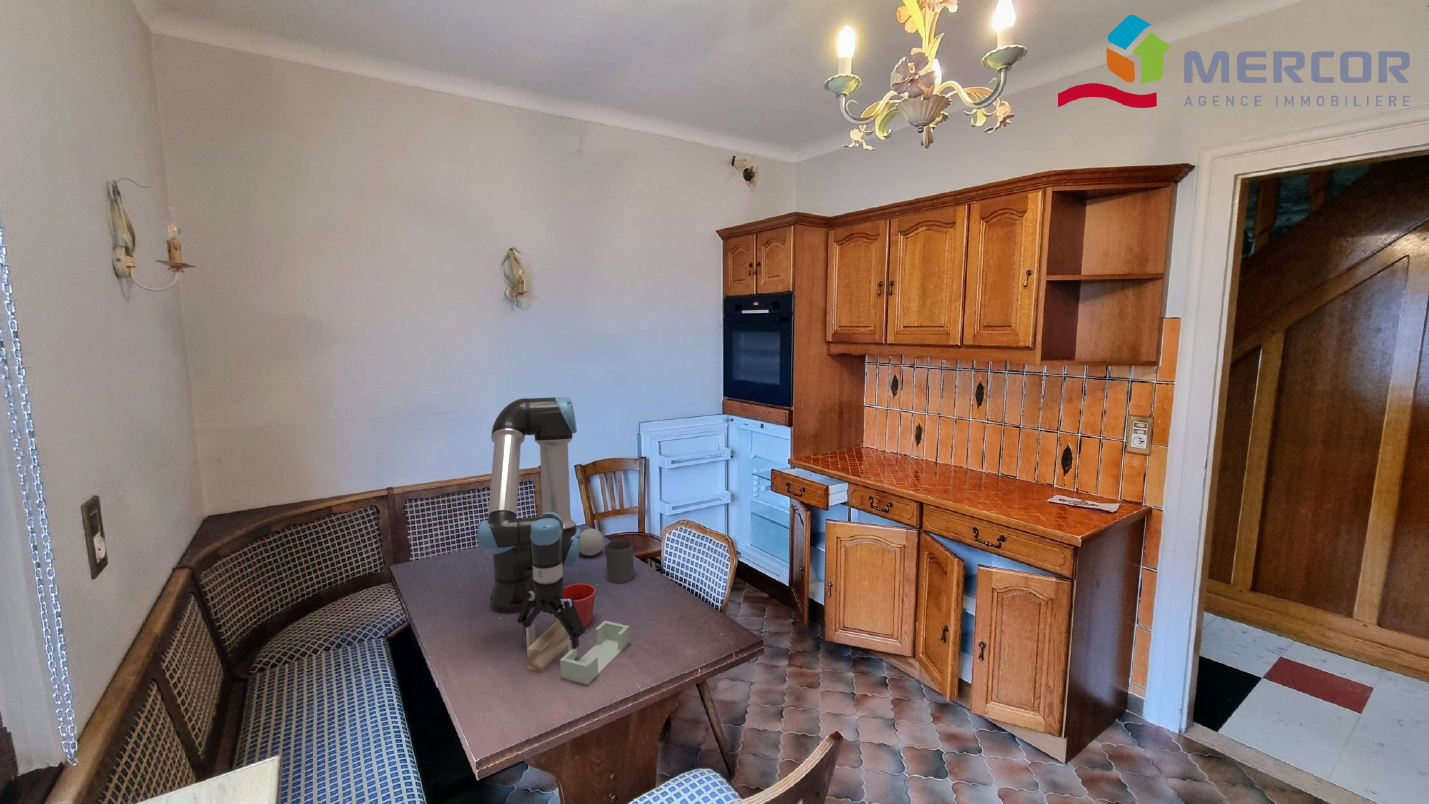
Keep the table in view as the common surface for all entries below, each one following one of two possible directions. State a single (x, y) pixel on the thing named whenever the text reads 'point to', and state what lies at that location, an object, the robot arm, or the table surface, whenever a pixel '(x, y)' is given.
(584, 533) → the ball
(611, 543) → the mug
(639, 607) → the table surface
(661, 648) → the table surface
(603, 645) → the green tray
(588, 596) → the flower pot
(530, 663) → the wooden block
